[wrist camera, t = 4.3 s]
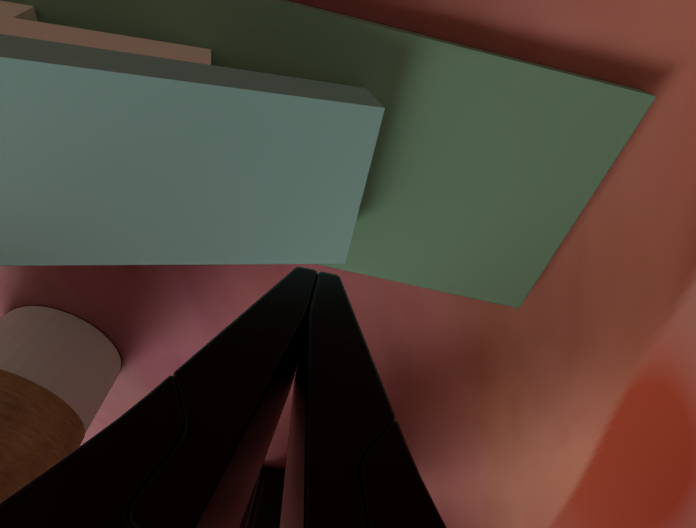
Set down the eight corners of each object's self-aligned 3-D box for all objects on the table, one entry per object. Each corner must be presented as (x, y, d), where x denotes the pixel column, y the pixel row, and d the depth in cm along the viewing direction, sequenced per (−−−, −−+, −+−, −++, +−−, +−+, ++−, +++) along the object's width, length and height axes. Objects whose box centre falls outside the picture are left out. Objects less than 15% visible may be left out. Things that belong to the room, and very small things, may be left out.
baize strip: (514, 298, 16) (518, 308, 15) (-149, 151, 15) (-167, 158, 14) (645, 91, 11) (656, 96, 11) (-327, -156, 10) (-365, -162, 9)
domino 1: (212, 232, 13) (-232, 224, 9) (211, 206, 14) (-184, 191, 11) (211, 65, 10) (-438, -32, 6) (211, 49, 11) (-340, -40, 8)
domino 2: (345, 263, 13) (-47, 266, 10) (333, 235, 14) (-19, 228, 11) (385, 107, 10) (-165, 34, 7) (366, 88, 11) (-108, 17, 8)
